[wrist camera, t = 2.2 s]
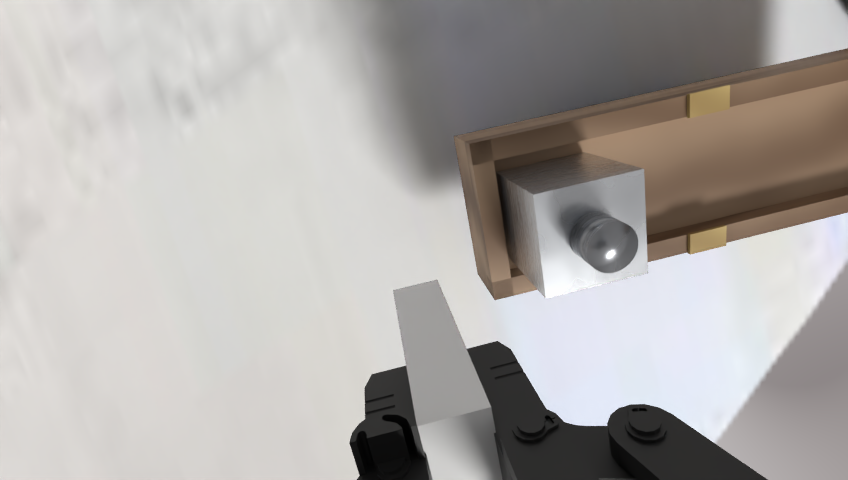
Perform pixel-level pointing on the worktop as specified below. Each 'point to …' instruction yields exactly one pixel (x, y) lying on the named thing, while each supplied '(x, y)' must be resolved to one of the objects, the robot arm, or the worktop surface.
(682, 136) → the beam
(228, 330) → the worktop surface
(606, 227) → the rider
